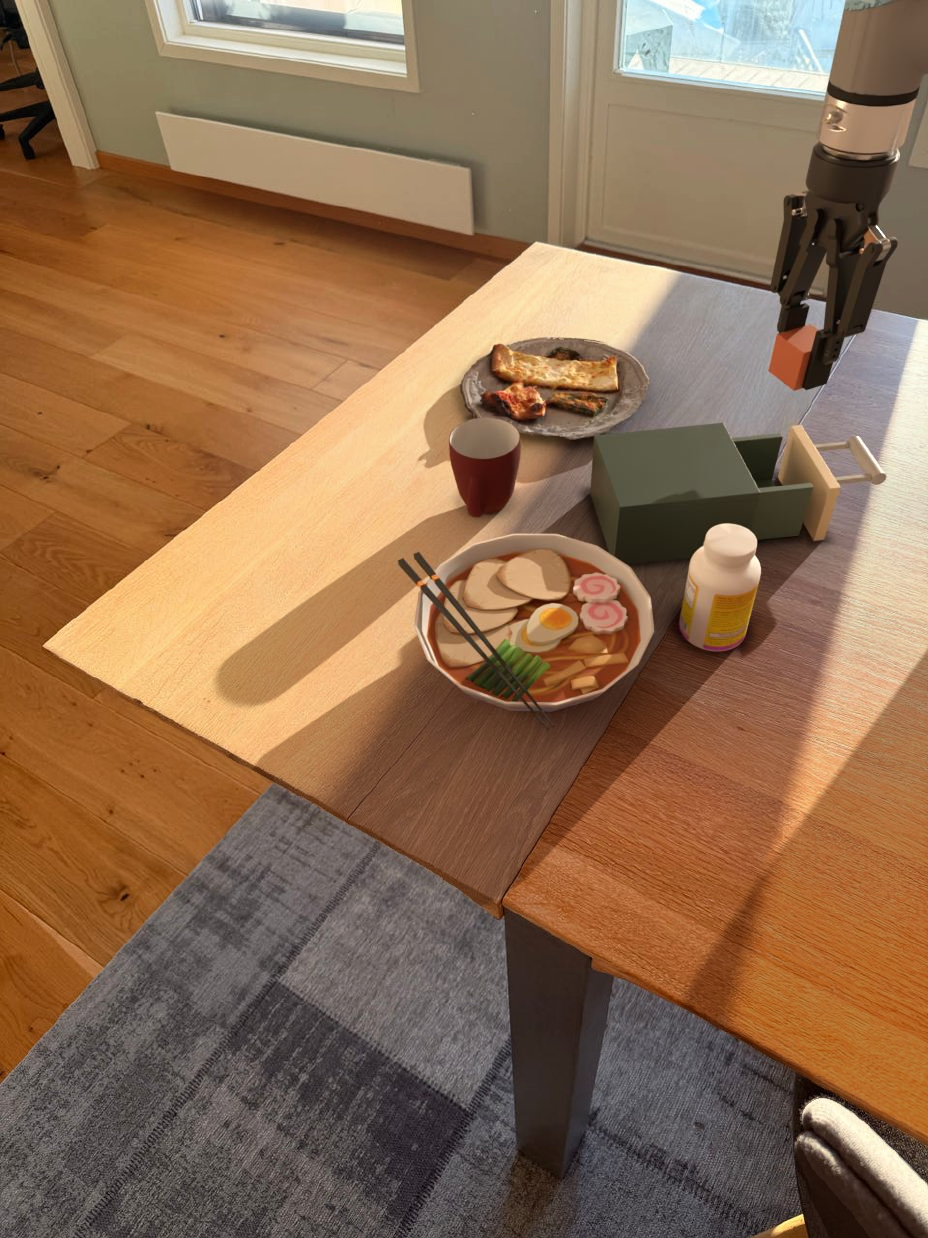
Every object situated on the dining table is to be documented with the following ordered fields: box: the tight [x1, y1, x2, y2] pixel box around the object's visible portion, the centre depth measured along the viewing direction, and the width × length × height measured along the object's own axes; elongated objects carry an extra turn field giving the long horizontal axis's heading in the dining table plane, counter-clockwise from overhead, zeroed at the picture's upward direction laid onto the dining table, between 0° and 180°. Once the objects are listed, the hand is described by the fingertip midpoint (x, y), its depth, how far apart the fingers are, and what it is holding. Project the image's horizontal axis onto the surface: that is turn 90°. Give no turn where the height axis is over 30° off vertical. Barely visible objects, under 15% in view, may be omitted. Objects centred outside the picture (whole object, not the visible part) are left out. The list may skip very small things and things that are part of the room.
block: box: [768, 323, 834, 392], centre depth 97 cm, size 4×4×4 cm
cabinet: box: [589, 422, 760, 565], centre depth 101 cm, size 15×13×9 cm
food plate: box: [459, 336, 651, 441], centre depth 123 cm, size 25×23×4 cm
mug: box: [448, 417, 522, 518], centre depth 104 cm, size 10×8×10 cm
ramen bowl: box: [397, 533, 655, 730], centre depth 88 cm, size 25×23×8 cm
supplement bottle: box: [678, 524, 762, 652], centre depth 88 cm, size 7×7×13 cm
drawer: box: [731, 424, 887, 542], centre depth 102 cm, size 20×12×7 cm, turn 96°
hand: (798, 373), depth 98 cm, fingers closed on block, 4 cm apart
